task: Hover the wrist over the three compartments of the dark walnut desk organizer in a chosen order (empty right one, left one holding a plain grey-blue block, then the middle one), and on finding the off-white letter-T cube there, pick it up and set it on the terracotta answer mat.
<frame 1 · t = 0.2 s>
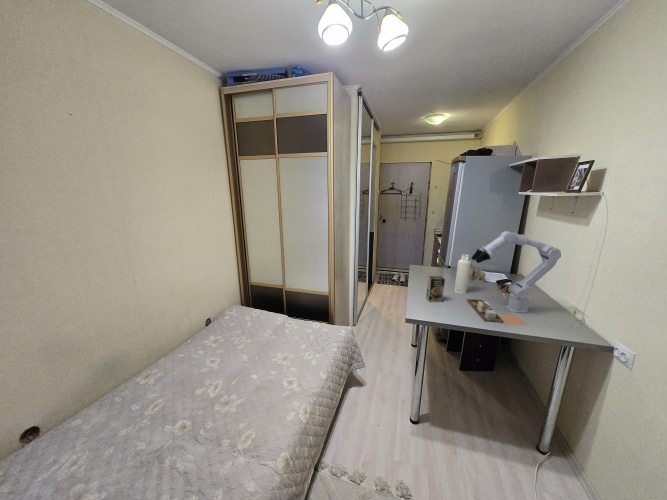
hand: (474, 260, 153), 31 cm above the table, tool tilted 45°, fingers open, 7 cm apart
letter cube: (483, 310, 153), point 1 cm above the table, touching organizer
organizer: (483, 311, 153), on the table
blank block: (489, 317, 145), point 1 cm above the table, touching organizer
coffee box: (433, 300, 169), on the table
bottle: (460, 291, 184), on the table
answer mat: (512, 320, 143), on the table
ceramic cottage: (472, 280, 208), on the table
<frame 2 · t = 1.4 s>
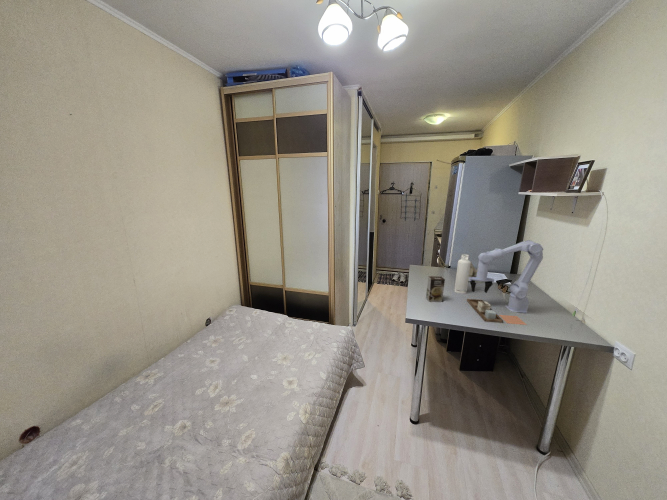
hand: (479, 291, 160), 9 cm above the table, tool pointing down, fingers open, 7 cm apart
nothing on the table moved.
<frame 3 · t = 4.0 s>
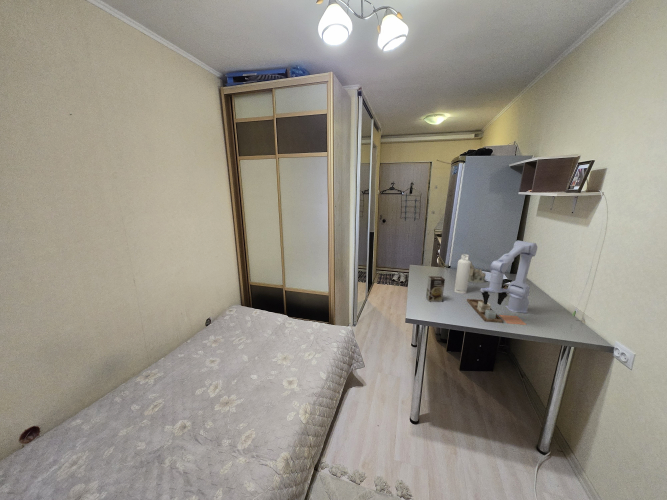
hand: (492, 304, 143), 9 cm above the table, tool pointing down, fingers open, 7 cm apart
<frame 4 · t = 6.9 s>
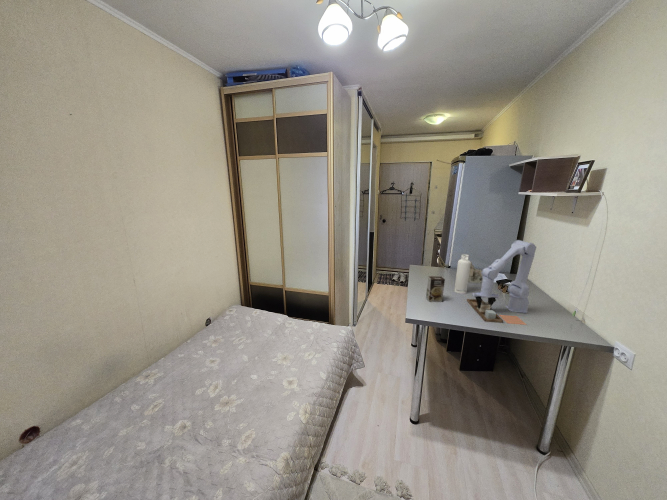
hand: (483, 308, 153), 2 cm above the table, tool pointing down, fingers closed on letter cube, 5 cm apart
letter cube: (483, 310, 153), point 1 cm above the table, touching gripper, organizer
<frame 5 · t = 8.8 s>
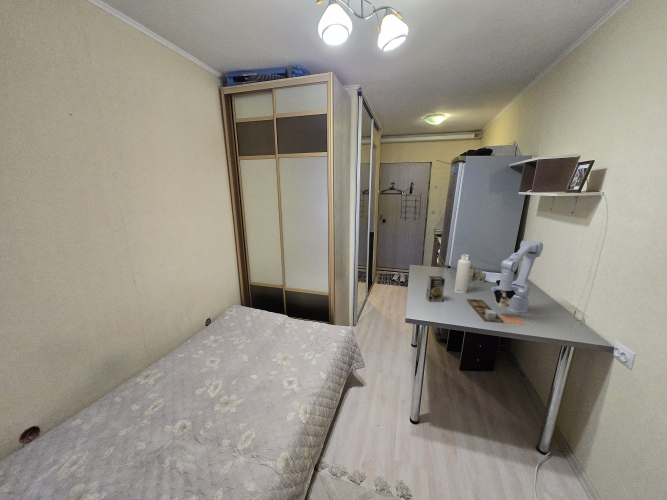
hand: (502, 302, 145), 9 cm above the table, tool pointing down, fingers closed on letter cube, 5 cm apart
letter cube: (501, 305, 145), point 8 cm above the table, touching gripper
when the fingers open (4 cm above the table, at t = 10.8 s): letter cube drops 1 cm, resting on answer mat.
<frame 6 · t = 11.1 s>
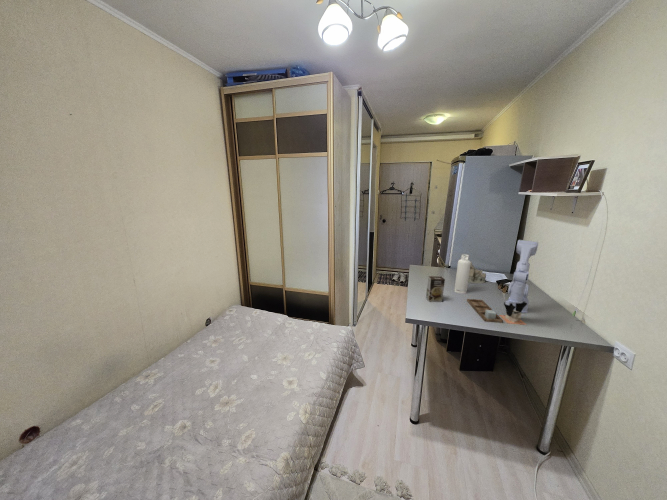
hand: (513, 314, 142), 4 cm above the table, tool pointing down, fingers open, 7 cm apart
letter cube: (512, 319, 143), point 1 cm above the table, touching answer mat
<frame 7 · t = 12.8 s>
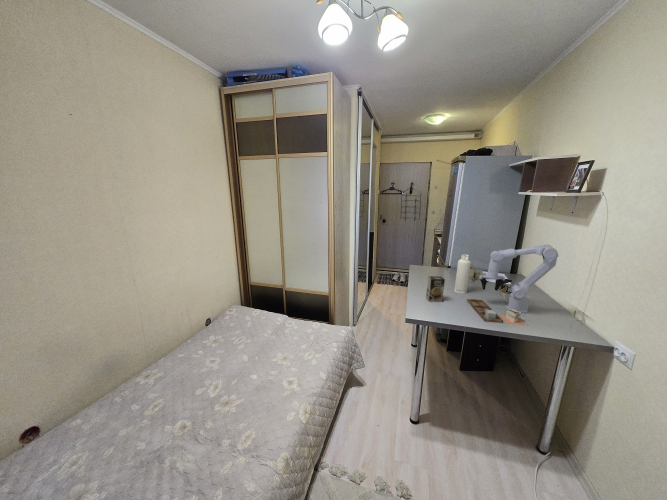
hand: (489, 289, 161), 10 cm above the table, tool pointing down, fingers open, 7 cm apart
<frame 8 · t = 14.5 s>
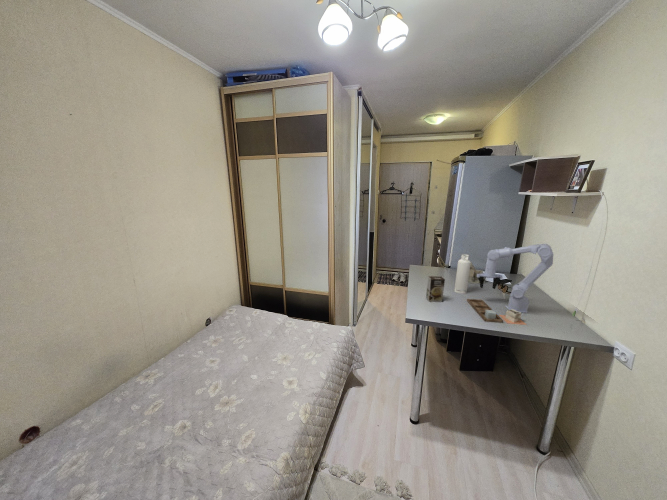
hand: (487, 288, 163), 10 cm above the table, tool pointing down, fingers open, 7 cm apart
at the end: letter cube inside the target area on the answer mat (0.1 cm from its centre), point 0.6 cm above the answer mat's base; letter cube tilted 0°; the gripper is holding nothing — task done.
